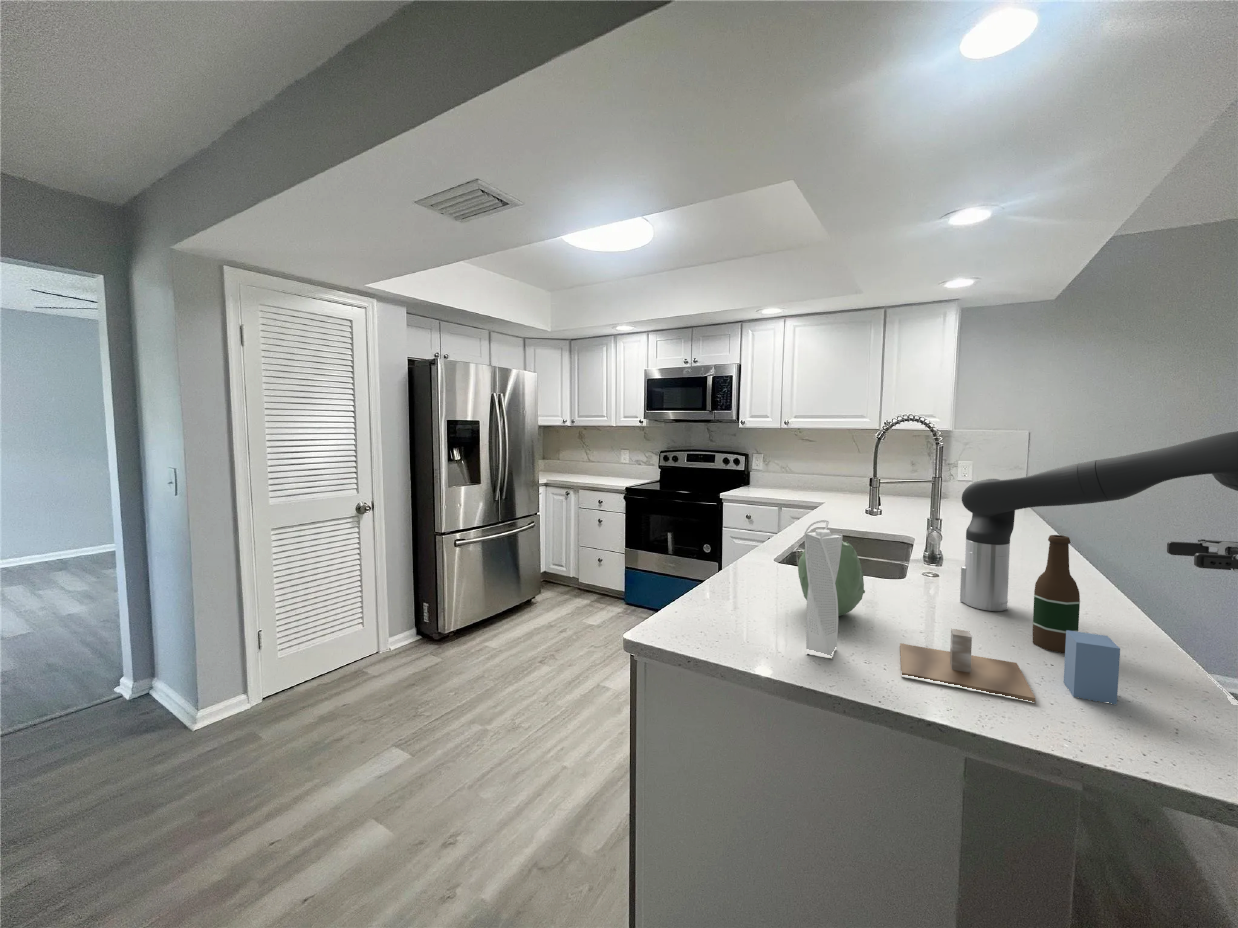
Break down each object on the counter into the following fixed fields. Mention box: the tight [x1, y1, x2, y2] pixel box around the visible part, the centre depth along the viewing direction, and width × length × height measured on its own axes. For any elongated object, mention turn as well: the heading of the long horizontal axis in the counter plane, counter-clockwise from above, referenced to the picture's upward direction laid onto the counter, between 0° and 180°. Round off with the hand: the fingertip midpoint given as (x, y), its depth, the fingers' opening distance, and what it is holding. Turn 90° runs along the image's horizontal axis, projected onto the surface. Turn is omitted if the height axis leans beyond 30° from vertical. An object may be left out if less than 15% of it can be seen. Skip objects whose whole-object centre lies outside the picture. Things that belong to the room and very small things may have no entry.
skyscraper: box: [804, 519, 843, 656], centre depth 105 cm, size 8×8×28 cm
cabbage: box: [797, 540, 866, 617], centre depth 126 cm, size 16×19×20 cm
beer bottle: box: [1032, 534, 1081, 654], centre depth 105 cm, size 8×8×24 cm
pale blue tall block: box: [1063, 630, 1121, 705], centre depth 88 cm, size 6×6×10 cm
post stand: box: [899, 628, 1036, 703], centre depth 96 cm, size 20×14×8 cm
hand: (1181, 553), depth 81 cm, fingers open, 8 cm apart
